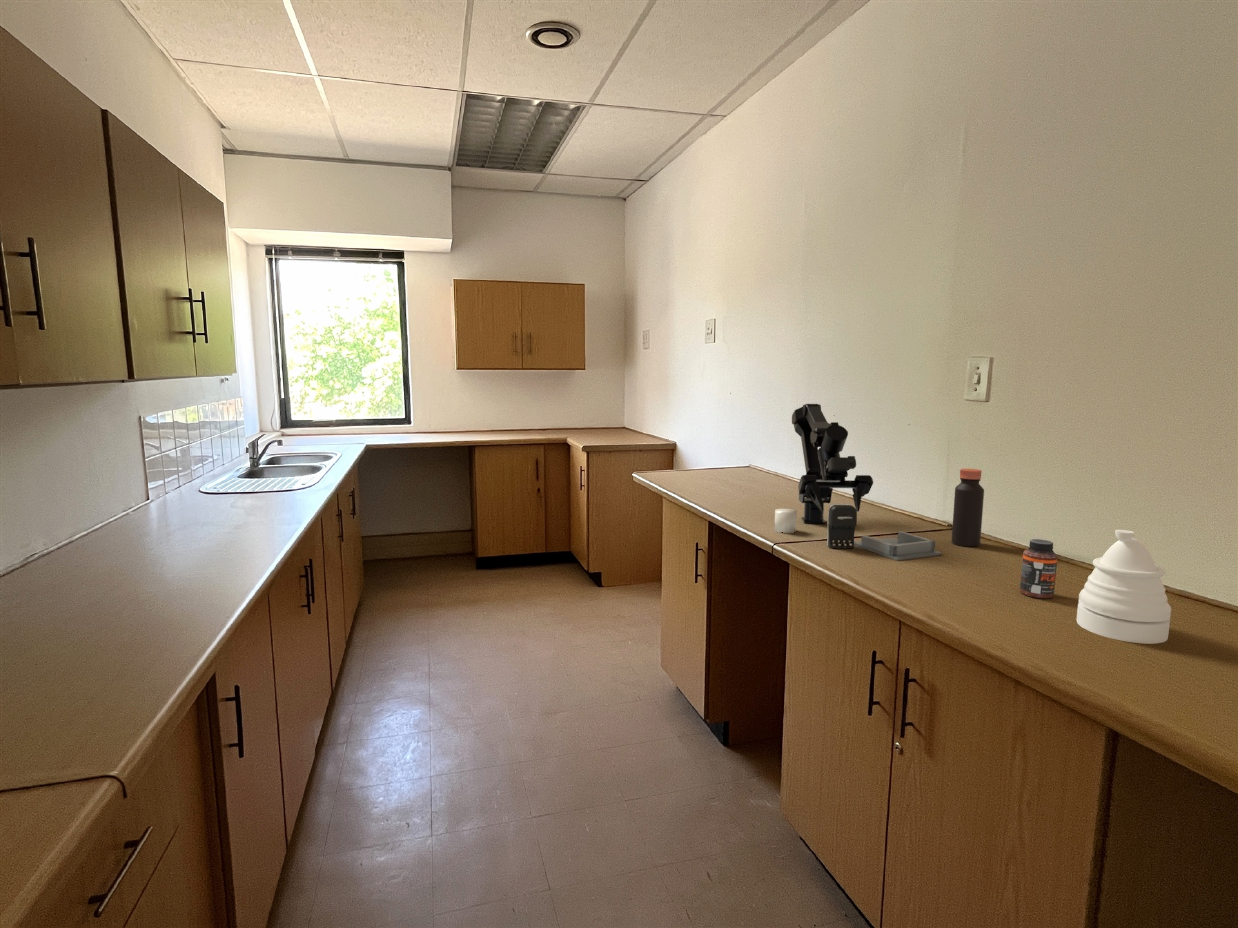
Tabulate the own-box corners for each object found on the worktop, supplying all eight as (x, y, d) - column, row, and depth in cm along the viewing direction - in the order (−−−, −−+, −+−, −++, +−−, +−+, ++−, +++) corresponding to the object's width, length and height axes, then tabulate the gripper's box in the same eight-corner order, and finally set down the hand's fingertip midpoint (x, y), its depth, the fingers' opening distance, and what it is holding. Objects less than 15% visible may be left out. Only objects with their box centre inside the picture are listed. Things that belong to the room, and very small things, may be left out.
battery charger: (829, 549, 165) (831, 506, 164) (825, 545, 169) (827, 503, 167) (857, 549, 165) (859, 506, 163) (852, 546, 169) (854, 503, 167)
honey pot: (1140, 649, 105) (1152, 543, 102) (1060, 621, 117) (1069, 526, 114) (1184, 635, 110) (1197, 534, 108) (1103, 611, 122) (1113, 519, 119)
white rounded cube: (773, 528, 189) (774, 508, 188) (794, 528, 188) (794, 508, 187) (775, 533, 183) (776, 512, 182) (797, 533, 182) (797, 513, 181)
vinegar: (982, 548, 166) (988, 472, 163) (953, 546, 168) (958, 471, 165) (977, 541, 172) (982, 468, 169) (949, 539, 174) (954, 467, 171)
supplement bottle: (1043, 601, 127) (1048, 546, 125) (1013, 592, 132) (1017, 539, 131) (1060, 596, 130) (1065, 542, 128) (1030, 588, 135) (1034, 536, 133)
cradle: (852, 544, 170) (852, 533, 170) (893, 539, 175) (894, 528, 174) (897, 560, 155) (897, 548, 155) (941, 554, 160) (942, 542, 159)
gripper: (801, 445, 171) (810, 492, 162) (872, 445, 170) (885, 493, 161) (794, 470, 180) (802, 516, 171) (862, 470, 179) (873, 517, 170)
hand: (840, 510), depth 168 cm, fingers open, 9 cm apart
